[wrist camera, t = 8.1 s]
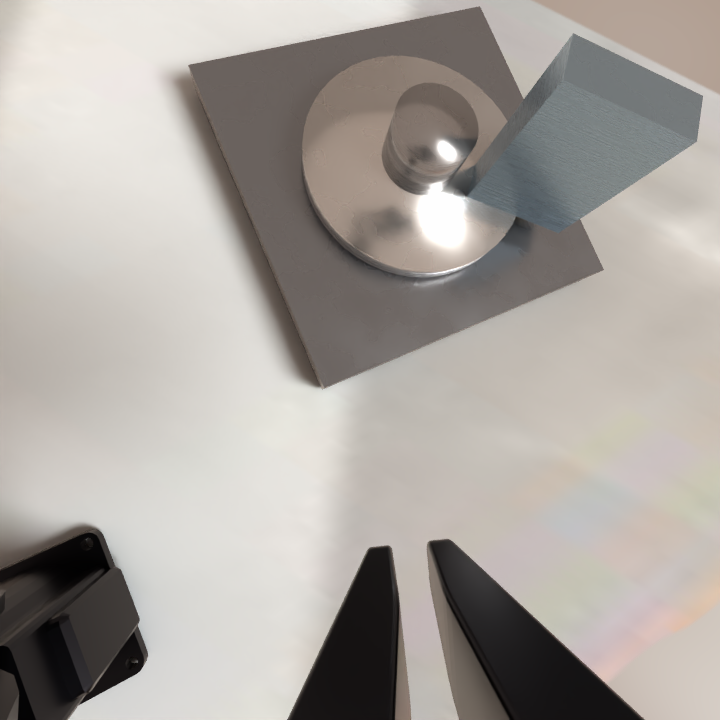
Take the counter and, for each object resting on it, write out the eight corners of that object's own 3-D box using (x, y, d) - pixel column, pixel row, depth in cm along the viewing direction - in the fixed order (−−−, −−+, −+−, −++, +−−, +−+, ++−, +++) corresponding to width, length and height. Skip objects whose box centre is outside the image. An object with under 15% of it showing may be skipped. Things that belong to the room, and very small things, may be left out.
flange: (270, 230, 18) (253, 95, 10) (339, 38, 20) (368, -194, 12) (529, 322, 20) (679, 267, 12) (567, 138, 22) (717, -9, 14)
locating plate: (322, 389, 19) (334, 381, 13) (195, 89, 20) (156, -40, 14) (584, 278, 23) (682, 234, 17) (468, 30, 24) (524, -91, 18)
